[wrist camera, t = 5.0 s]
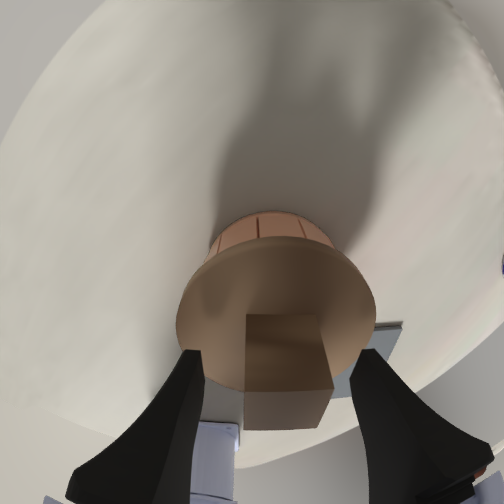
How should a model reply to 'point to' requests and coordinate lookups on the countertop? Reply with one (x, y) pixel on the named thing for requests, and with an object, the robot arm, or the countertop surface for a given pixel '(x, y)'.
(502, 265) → the energy drink
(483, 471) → the muffin
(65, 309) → the countertop surface
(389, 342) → the mat
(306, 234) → the bowl
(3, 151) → the countertop surface
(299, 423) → the lid
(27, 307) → the countertop surface
